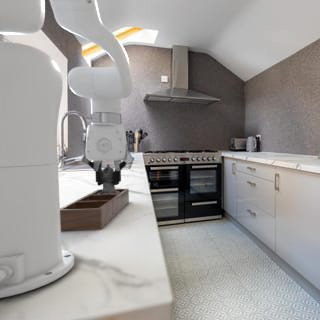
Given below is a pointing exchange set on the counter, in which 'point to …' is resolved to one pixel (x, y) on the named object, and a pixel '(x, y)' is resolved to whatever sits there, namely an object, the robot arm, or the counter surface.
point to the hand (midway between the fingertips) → (108, 183)
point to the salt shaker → (108, 181)
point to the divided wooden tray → (93, 210)
